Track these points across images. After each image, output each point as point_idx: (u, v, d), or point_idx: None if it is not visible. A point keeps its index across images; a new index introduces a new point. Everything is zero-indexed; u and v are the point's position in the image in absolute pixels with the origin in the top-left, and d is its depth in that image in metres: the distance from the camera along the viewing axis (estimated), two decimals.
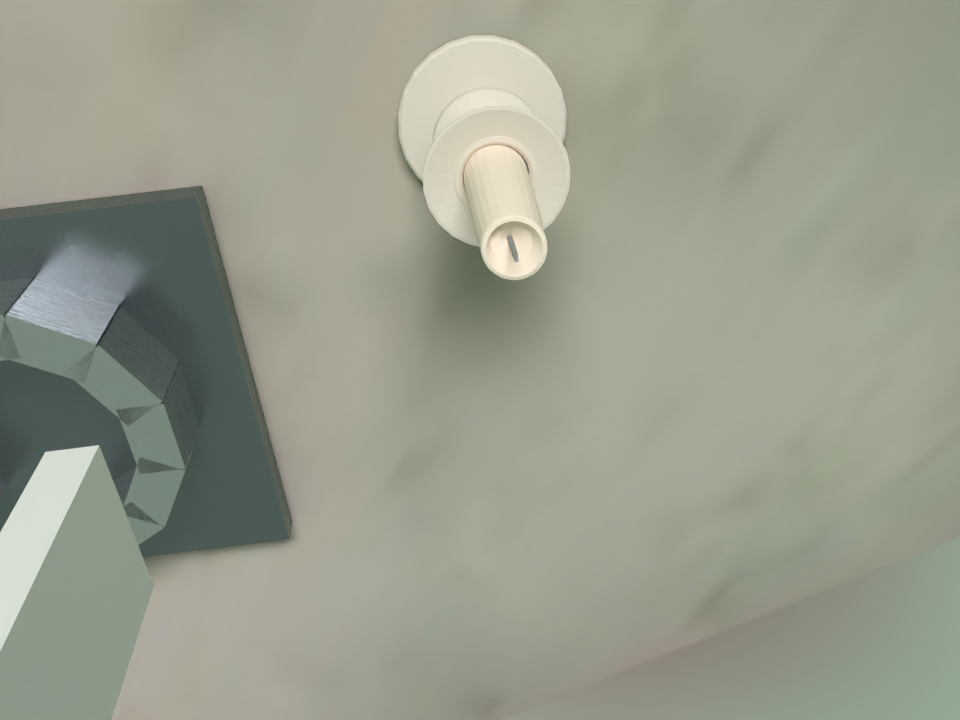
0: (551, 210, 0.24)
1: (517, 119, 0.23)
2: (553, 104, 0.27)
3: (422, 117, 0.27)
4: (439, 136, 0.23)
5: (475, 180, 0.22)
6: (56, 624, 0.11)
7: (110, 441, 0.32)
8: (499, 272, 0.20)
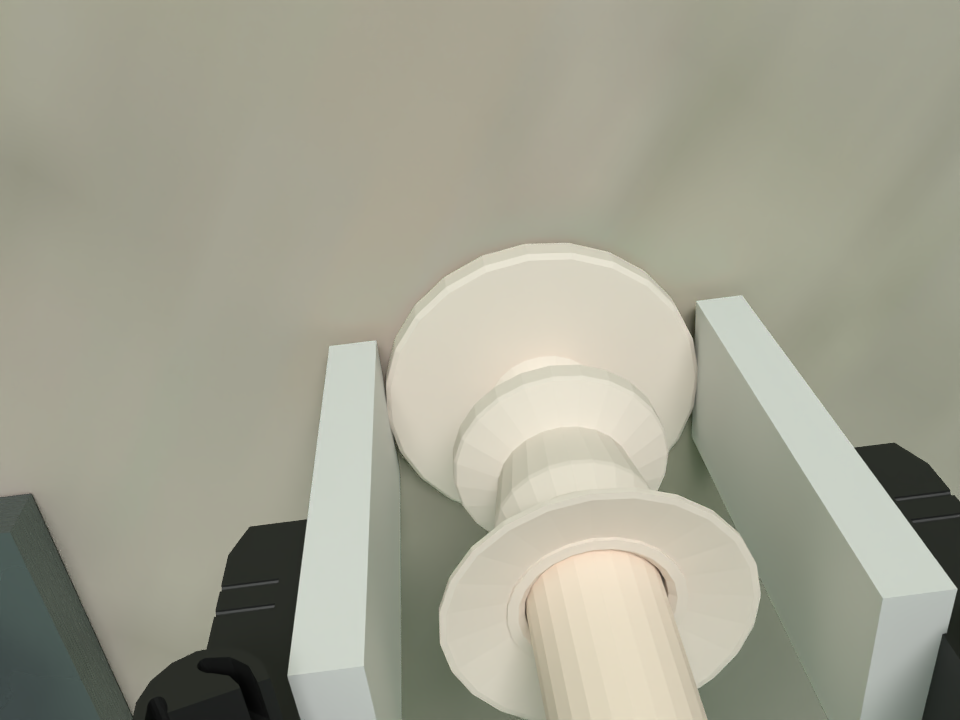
0: (710, 660, 0.11)
1: (653, 505, 0.10)
2: (676, 361, 0.15)
3: (432, 388, 0.15)
4: (478, 547, 0.10)
5: (566, 688, 0.09)
6: (380, 478, 0.13)
7: None
8: None
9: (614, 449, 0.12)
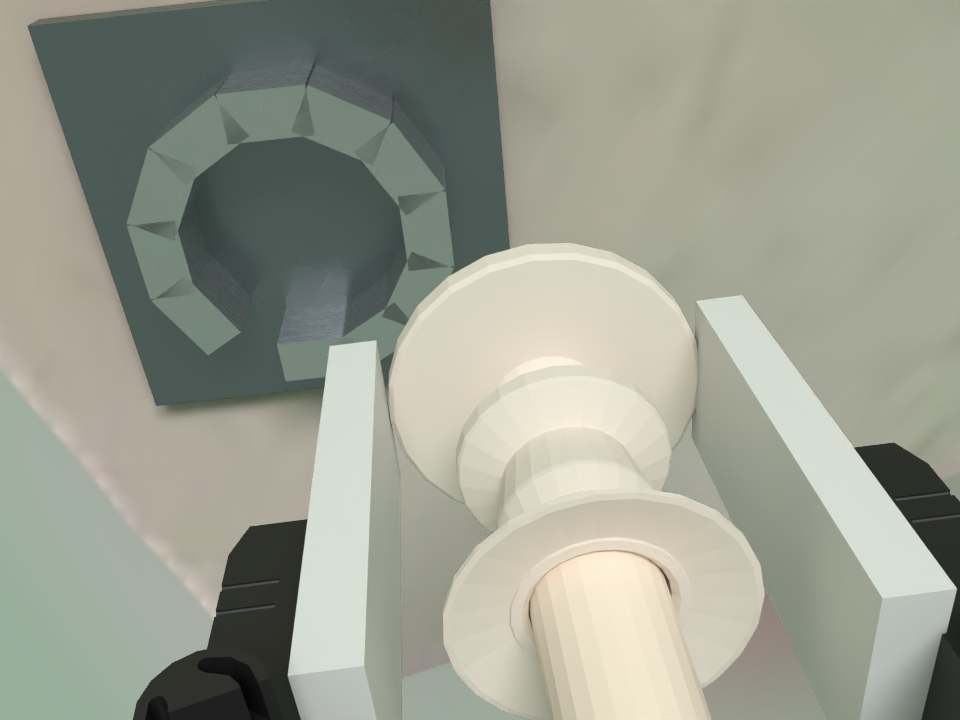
0: (713, 661, 0.11)
1: (657, 506, 0.10)
2: (679, 361, 0.15)
3: (434, 388, 0.15)
4: (482, 547, 0.10)
5: (571, 688, 0.09)
6: (380, 478, 0.13)
7: (360, 251, 0.32)
8: None
9: (617, 449, 0.12)
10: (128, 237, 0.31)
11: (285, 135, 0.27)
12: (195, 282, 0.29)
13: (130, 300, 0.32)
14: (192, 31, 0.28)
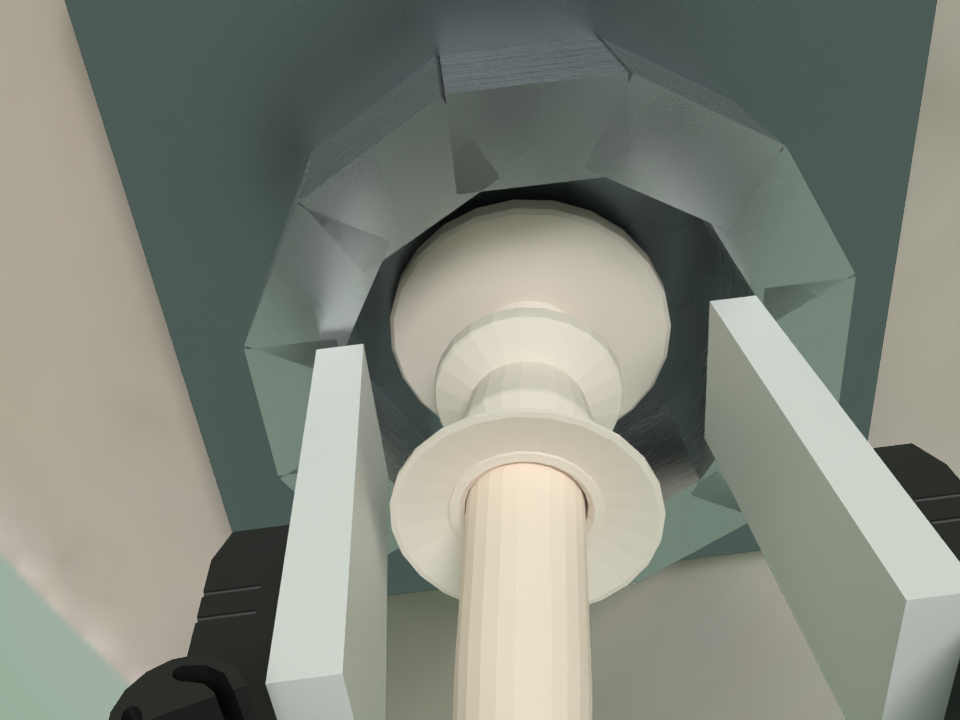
0: (625, 568, 0.13)
1: (570, 428, 0.12)
2: (649, 313, 0.16)
3: (429, 322, 0.17)
4: (420, 449, 0.12)
5: (474, 566, 0.11)
6: (365, 482, 0.12)
7: None
8: None
9: (566, 383, 0.14)
10: (227, 351, 0.17)
11: (572, 175, 0.13)
12: None
13: (224, 453, 0.19)
14: None
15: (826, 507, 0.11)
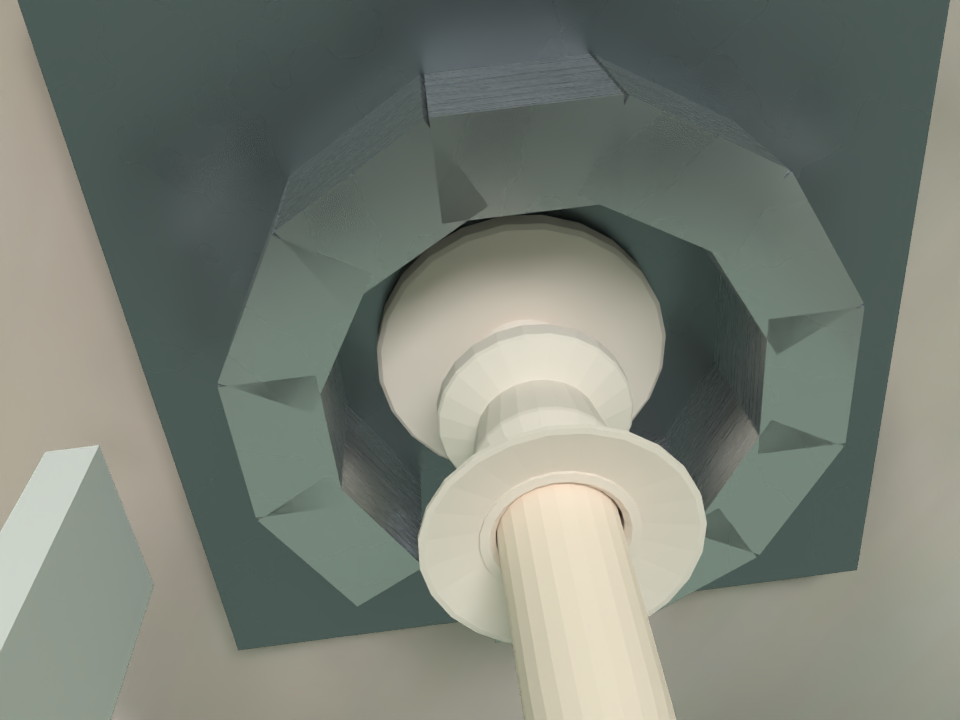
0: (664, 586, 0.13)
1: (606, 441, 0.11)
2: (644, 324, 0.16)
3: (419, 350, 0.16)
4: (450, 479, 0.11)
5: (526, 598, 0.11)
6: (56, 624, 0.11)
7: None
8: None
9: (580, 398, 0.13)
10: (203, 384, 0.17)
11: (564, 203, 0.13)
12: (343, 483, 0.15)
13: (201, 489, 0.18)
14: None
15: None
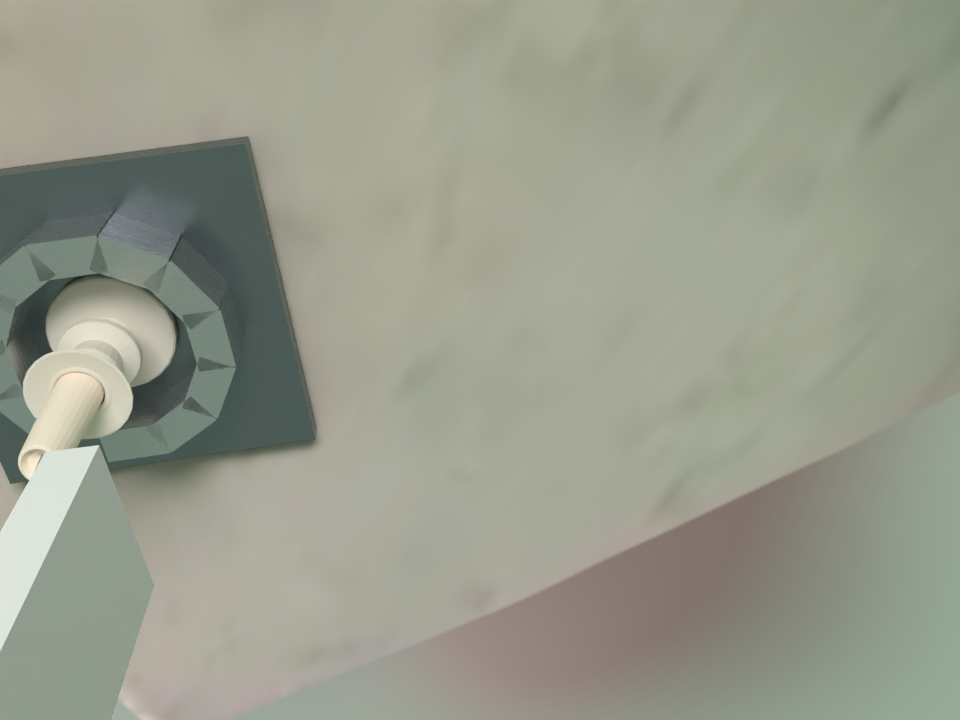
0: (124, 412, 0.34)
1: (84, 356, 0.33)
2: (160, 318, 0.37)
3: (63, 332, 0.37)
4: (30, 370, 0.33)
5: (45, 405, 0.32)
6: (56, 624, 0.11)
7: None
8: None
9: (103, 346, 0.35)
10: None
11: (85, 273, 0.34)
12: None
13: None
14: (12, 191, 0.35)
15: None
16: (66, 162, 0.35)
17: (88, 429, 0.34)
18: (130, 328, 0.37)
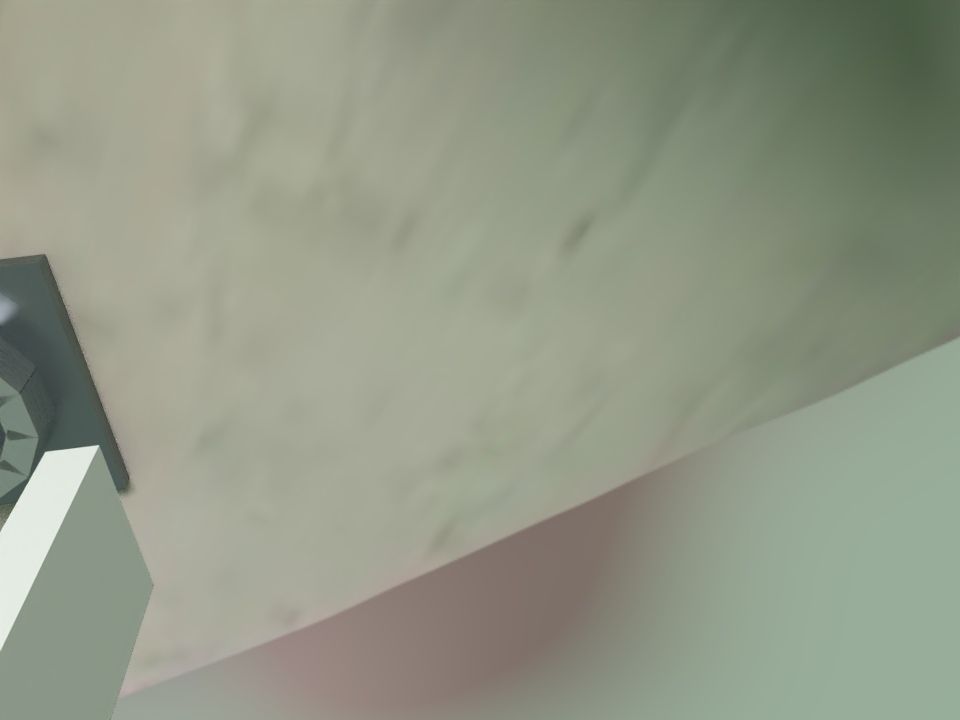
0: None
1: None
2: None
3: None
4: None
5: None
6: (56, 624, 0.11)
7: None
8: None
9: None
10: None
11: None
12: None
13: None
14: None
15: None
16: None
17: None
18: None
